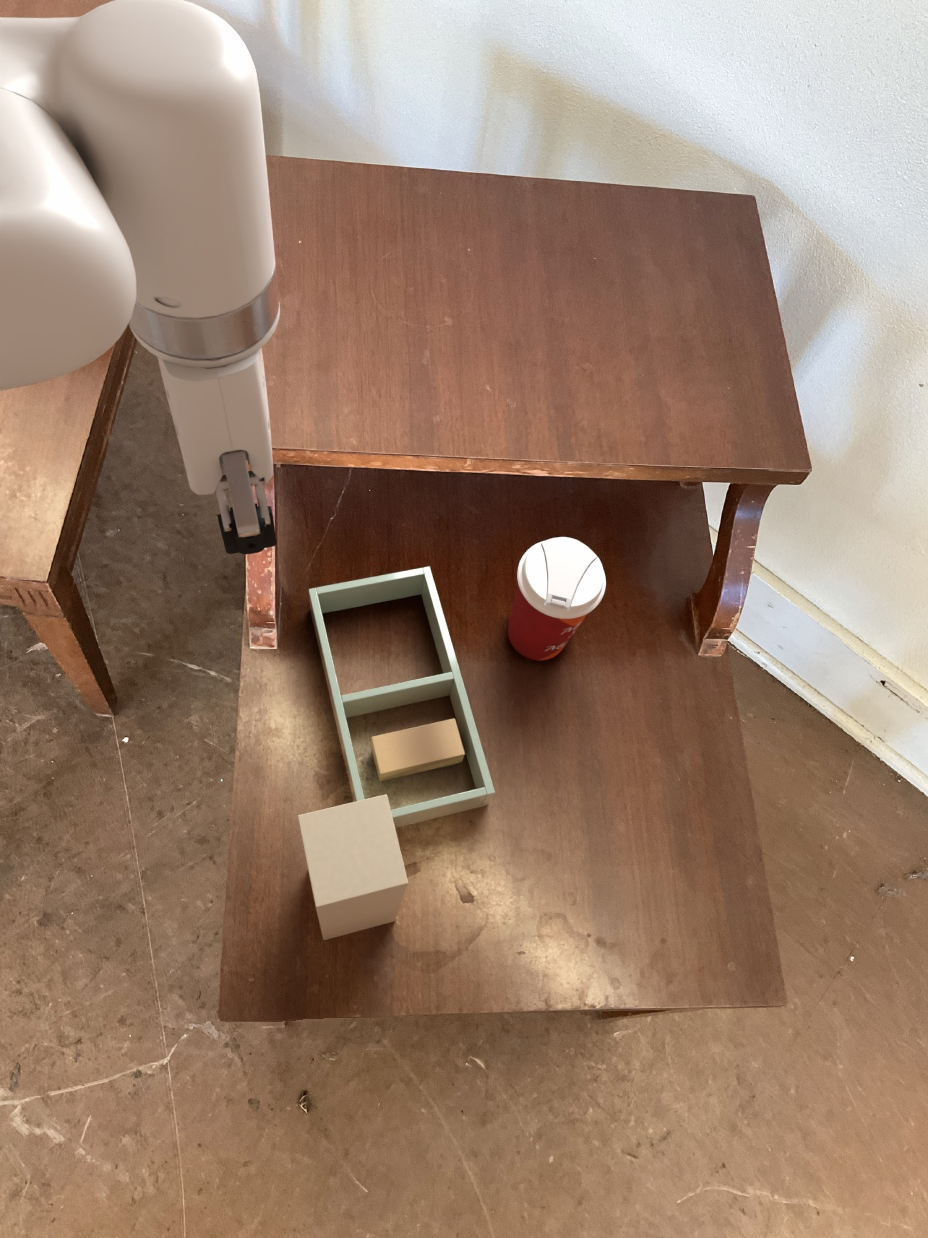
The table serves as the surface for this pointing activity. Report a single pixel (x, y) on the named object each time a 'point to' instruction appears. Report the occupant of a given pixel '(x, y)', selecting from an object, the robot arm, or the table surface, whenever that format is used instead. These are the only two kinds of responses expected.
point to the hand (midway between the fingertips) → (238, 483)
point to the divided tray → (402, 686)
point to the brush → (417, 749)
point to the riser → (354, 865)
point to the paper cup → (553, 596)
